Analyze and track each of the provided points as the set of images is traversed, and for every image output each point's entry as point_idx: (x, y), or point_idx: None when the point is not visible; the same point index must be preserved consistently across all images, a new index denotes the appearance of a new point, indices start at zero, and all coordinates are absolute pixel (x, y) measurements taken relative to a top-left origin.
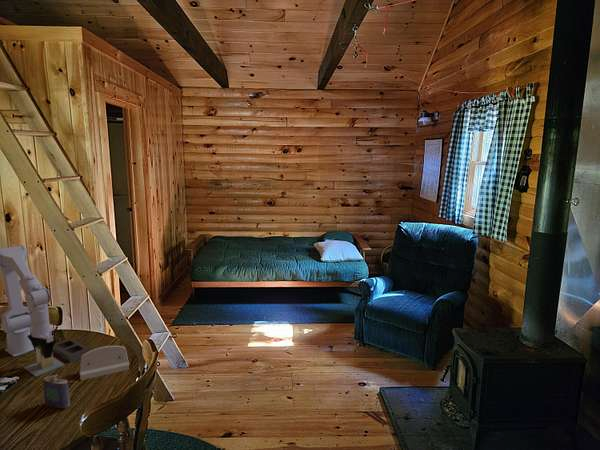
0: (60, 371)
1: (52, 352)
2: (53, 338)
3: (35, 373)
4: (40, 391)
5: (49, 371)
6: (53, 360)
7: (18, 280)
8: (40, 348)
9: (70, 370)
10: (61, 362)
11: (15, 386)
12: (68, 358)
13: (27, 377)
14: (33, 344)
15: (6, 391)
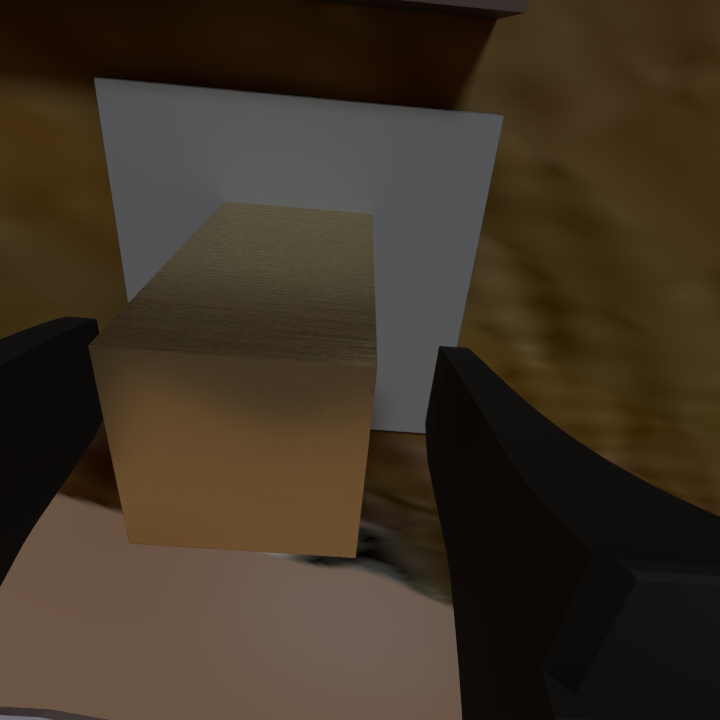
0: (585, 240)
1: (372, 288)
2: (651, 623)
3: (383, 413)
4: (707, 505)
5: (460, 309)
6: (237, 146)
7: None
8: (301, 534)
9: (699, 154)
10: (400, 111)
11: (430, 553)
12: (471, 10)
13: (369, 461)
14: (16, 551)
15: (440, 599)
